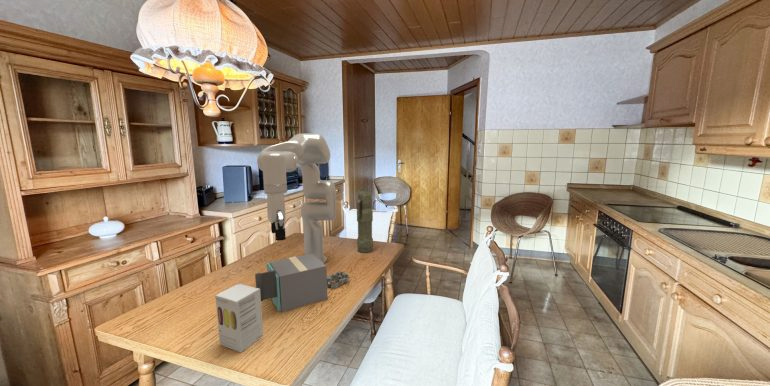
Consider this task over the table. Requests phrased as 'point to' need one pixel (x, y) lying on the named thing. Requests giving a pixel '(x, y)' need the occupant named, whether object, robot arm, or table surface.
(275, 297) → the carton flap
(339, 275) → the egg carton
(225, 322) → the supplement box
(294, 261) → the carton
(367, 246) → the thermos
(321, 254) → the robot arm
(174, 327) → the table surface
